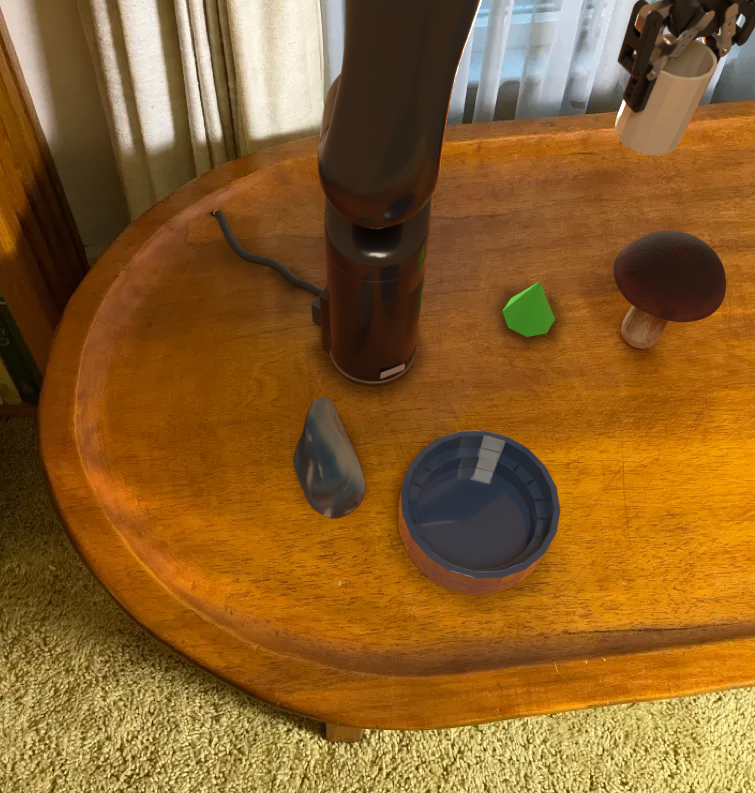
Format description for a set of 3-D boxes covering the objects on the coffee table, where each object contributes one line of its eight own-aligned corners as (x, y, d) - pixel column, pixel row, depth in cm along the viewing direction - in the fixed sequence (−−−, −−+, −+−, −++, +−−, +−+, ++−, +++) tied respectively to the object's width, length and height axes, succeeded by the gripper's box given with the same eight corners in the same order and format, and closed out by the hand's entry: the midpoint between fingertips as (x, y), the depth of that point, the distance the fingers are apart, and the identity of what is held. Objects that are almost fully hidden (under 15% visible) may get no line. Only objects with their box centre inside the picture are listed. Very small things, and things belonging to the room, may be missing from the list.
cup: (603, 137, 75) (633, 60, 67) (629, 102, 78) (660, 25, 70) (665, 165, 73) (702, 89, 66) (689, 127, 76) (727, 51, 69)
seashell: (341, 531, 69) (386, 431, 68) (261, 486, 72) (303, 390, 71) (366, 525, 75) (408, 433, 74) (292, 484, 78) (331, 395, 77)
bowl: (369, 541, 72) (370, 519, 67) (447, 431, 78) (453, 404, 73) (500, 627, 68) (511, 610, 63) (571, 505, 74) (586, 481, 69)
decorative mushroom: (678, 392, 81) (739, 306, 68) (576, 364, 82) (618, 274, 70) (690, 315, 86) (749, 221, 73) (594, 289, 88) (636, 193, 75)
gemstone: (491, 309, 86) (499, 275, 81) (530, 286, 88) (541, 251, 83) (526, 346, 84) (537, 312, 78) (566, 320, 85) (579, 287, 80)
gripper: (703, -45, 54) (626, 143, 68) (849, -85, 58) (747, 100, 72) (639, -97, 57) (578, 92, 71) (781, -132, 61) (696, 54, 75)
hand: (663, 96), depth 72 cm, fingers closed on cup, 6 cm apart
